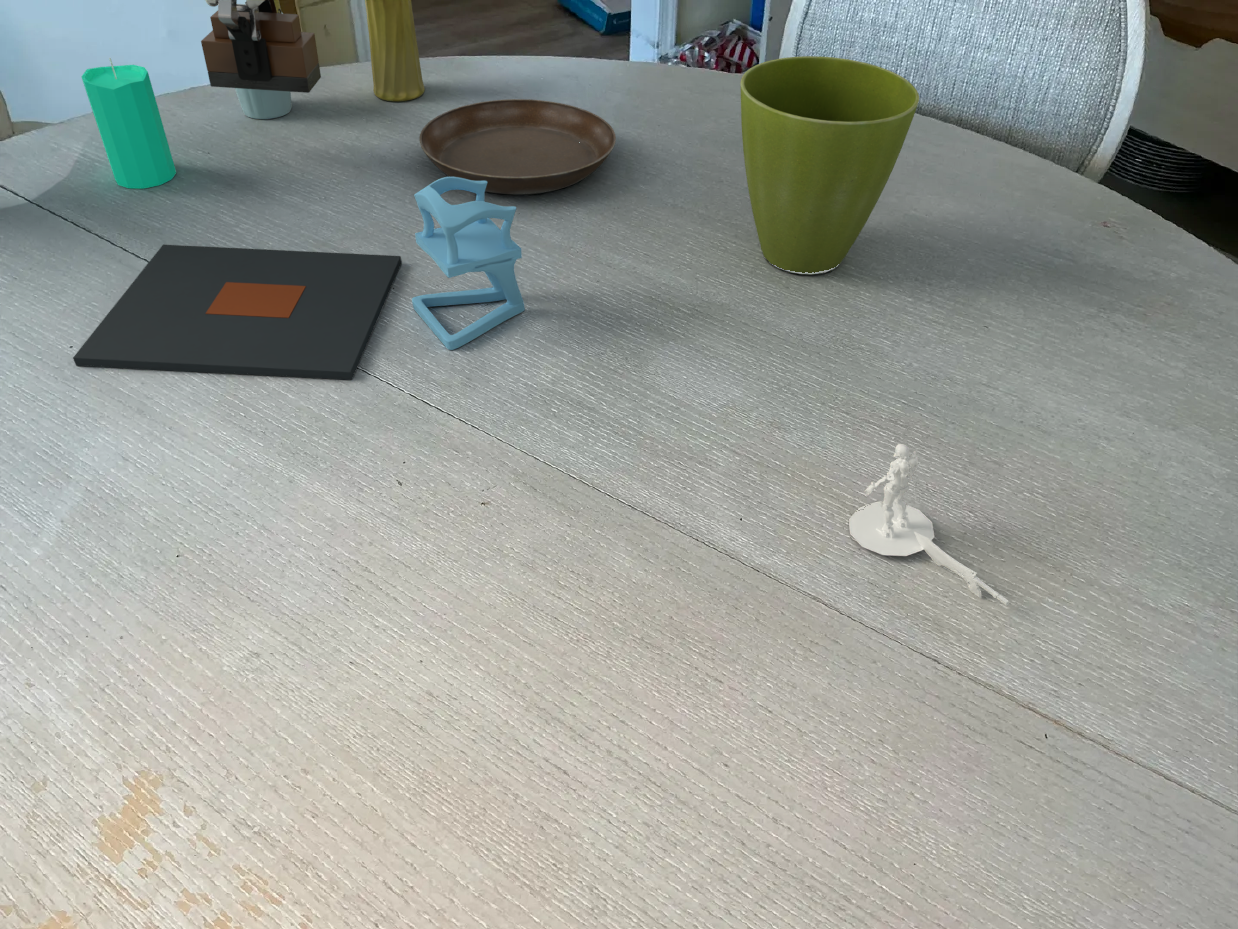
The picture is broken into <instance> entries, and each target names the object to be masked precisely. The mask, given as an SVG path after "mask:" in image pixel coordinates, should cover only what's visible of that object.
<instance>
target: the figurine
mask: <svg viewBox="0 0 1238 929" xmlns="http://www.w3.org/2000/svg"><path fill="white" fill-rule="evenodd" d="M892 458H896V459H895V460H892V461H891V462H890V464H889V468H888V469H889V470H888V472H887V473H886V475H883V477H882V478H881V479H878V480H877V481H876V482H875V481H871V482H870V485H867V486H866V489H865V490H863V494H864V496H865V497H869V496H870V495H871V494H872V493H873V492H874V490H877V489H878V487H880V486H884V487H883V494H884V497H883V500H881V501H874V502H871V503H868V504H866V505H863V506H860V507H858V508H857V509H858V510H860V509H864V510H860V511H858V510H857V509H856V511H857V512H856V511H854V513H852V515H851V516H850V517H849V518H848V526H849V527H848V528H849V534H850V536H852V538H853V539H854V540H855V541H856V542H857V543H858V544H859V546H861V548H864V549H867V550H869V551H872V552H874V553H875V554H876V553H877V554H879V555H880V556H892V557H893V556H896V557H907V556H910V555H913V554H916V553H918V552H921V551H925V553H926V554H927V555H928V556H929V557H930V558H931V560H932V561H933V563H935V564H936V565H937V566H938V567H942V566H943V567H945V568H946V569H948V570H950V571H951V572H953V573H955V574H956V575H958V576H959V577H960V578H961V579H963V580H964V582H965V583H966V585H967V586H968V589H969V591H970V592H971V593H972V594H973V595H975V596H976V597H978V598H979V599H982V590H981V589H980V587H981V588H982V589H983V590H985V591H986V592H987V593H989V594H990V595H992V597H993V598H994V599H997V600H998V601H1000V602H1001V604H1003V605H1004V606H1006V607H1007V606H1009V604H1010V601H1009V600H1008V599H1007V598H1006V597H1004V596H1003V595H1002V594H1000V592H998V591H996V590H994V589H993V588H992V587H991V586H989V585H988V584H987V583H986V582H984V581H982V580H981V579H980V578H979V577H978V576H977V574H978V572H977V571H974V570H973V569H972V568H969V567H967V566H966V565H964V564H963V563H961V562H959V561H958V560H957V559H955V558H953V557H952V556H951V555H950V554H948V553H947V552H945V551H944V550H943V549H942V548H940V547H939V546H938V545H937V544H935V542H934V541H933V540H934V538H935V531H934V526H933V525H934V524H933V521H931V520H930V518H929V517H927V516H926V515H925V514H924V513H923V512H922V511H921V510H920V509H919V508H915V507H913V506H910V505H908V504H907V502H906V501H905V500H904V499H905V497H904V496H905V494H906V493H907V492H908V491H909V490H910V484H909V481H910V482H912V481H913V479H914V478H913V476H914V475H915V473H916V471H917V470H918V468H919V462H920V460H919V457H918V454H917V451H915V450H914V451H913V452H912V453H911V455H910V448H909V446H908V445H906V444H904V443H898V444H897V445H895V452H894V454H893V457H892ZM908 476H909V477H908ZM869 504H871V505H869ZM867 505H868V506H867ZM865 506H866V507H865ZM864 507H865V508H864Z"/></svg>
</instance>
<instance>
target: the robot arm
mask: <svg viewBox="0 0 1238 929" xmlns="http://www.w3.org/2000/svg"><path fill="white" fill-rule="evenodd" d="M204 1H205V3H206V4H207V5H208V6H209V7H212V8H215V7H217V11H218V17H219V20H220V21H221V22H222V23H223V24H224V25H225V26H226V27H227V29H228V34H229V38H230V40H231V41H232V46H233V51H234V56H235V61H236V66H237V71H238V76H239V78H240V79H242V80H252V81H270V80H271V79H272V72H271V67H270V61H269V56H268V50H267V45H266V39H264V38H261V31H260V21H259V12H265V13H281V14H282V13H283V11H282V8H281V5H280V0H246V1H245V2H244V3H237V2H238V0H204ZM238 12H249V19H250V23H249V22H248V20H247V19H246V18H245V17H242V16H240V14H239V13H238Z"/></svg>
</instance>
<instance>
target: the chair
mask: <svg viewBox="0 0 1238 929" xmlns="http://www.w3.org/2000/svg"><path fill="white" fill-rule="evenodd" d="M486 186H487V181H474V180H468V179H464V178H459V177H449V176H445V177H441V178H439V179H436V180H434V181H433V182H431V183H430V184H428V185H426V186H425V187H423V188H422V189H421V190H419V191H417V192H416V193H414V194H413V197H414V198H415V202H416V205H417V208H418V210H419V212H420V215H421V217H422V222H423V229H422V231H419V232H415V233H414V235H415V236H414V237H415V243H416V244H417V246H418V247H419V248H420V249H421V250H422V251H423V252H425V253H426V254H427V255H428V256H429V257H430V258H431V259H432V260H433V261H434V262H435V264H436V266H437V267H438V268H439V269H440V271H441V272H442V273H443V274H444V275H445V276H446V277H447V278H448V279H450V278H454V277H455V278H456V277H459V276H461V275H465V274H468V273H481V272H482V273H484V274H485V276H486V277H487V279H488V281H489V282H490V285H492V287H485V288H477V289H467V290H456V291H445V292H436V293H427V294H421V295H417V296H413V297H412V298H411V303H412V308H413V310H414V311H415V313H416V314H417V315H418V316H419V318H421V320H422V321H423V322H424V323H425V324H426V325H427V327H428V328H429V329H430V330H431V331H432V333H433V334H434V335H435V336H436V337H437V339H439V341H440V342H441V343H442V344H443V346H444V347H445V348H446V349H447V350H448V351H452V350H453V351H454V350H457V349H458V348H460V347H462V346H465V345H466V344H468V343H469V342H472V341H473V340H475V339H477V338H478V337H480V336H482V335H484V334H485V333H487V332H489V331H490V330H492V329H493V328H495V327H497V326H499V325H500V324H502V323H505V321H507V320H509V319H511V318H513V317H515V316H517V315H519V314H521V313H523V312H525V310H526V306H525V302H524V298H523V296H522V293H521V290H520V287H519V285H518V281H517V278H516V272H515V265H516V262H517V261H518V260H519V259H522V258H523V256H522V255H523V254H522V253H523V252H522V247H520V245H519V244H517V242H515V240H513V239H512V236H511V227H512V224H513V221H514V217H515V214H516V211H517V207H516V205H515V206H514V205H510V206H505V205H500V204H495V203H492V202H488V201H485V192H486V191H485V189H486ZM454 190H455V191H456V190H459V191H465V192H466V191H467V192H470V193H473V194H476V195H475V200H473V201H472V200H471V201H466V202H463V203H459V204H451V203H449V202H447V201H446V200H445V199H444V198H443V197H442V196H441V195H443V194H444V193H446V192H449V191H454ZM433 218H434V219H433ZM492 219H498V220H503V221H502V224H501V227H500V228H499V227H498V225H497V224H496V223H495V222H494V221H493V220H492ZM434 220H436V222H437V224H438V225H439V226H440V227H435V222H434ZM503 300H506V302H505V303H503V304H501V305H500V306H497V307H496V308H495V309H493V310H491V311H490V312H488V313H486V314H485V315H483V316H482V317H480V318H478V319H477V320H474V321H473V322H472V323H470V324H469V325H467V326H465V327H463V329H461V330H459V331H457V332H456V333H454V334H450V333H449V332H448V330H446V328H445V327H444V326H443V325H442V324H441V322H439V320H438V319H437V317H436V316H435V315H434V314H433V313H432V312H431V310H430V309H429V308H433V307H444V306H457V305H468V304H480V303H490V302H498V301H503Z"/></svg>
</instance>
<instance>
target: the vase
mask: <svg viewBox="0 0 1238 929" xmlns="http://www.w3.org/2000/svg"><path fill="white" fill-rule="evenodd" d="M364 4H365V11H366V23H367V30H368V39H369V48H370V50H369V52H370V63H371V64H370V65H371V73H372V83H373V94H374V96H375V97H376V98H378V99H380V100H382V101H387V102H393V103H394V102H395V103H396V102H397V103H398V102H407V101H412V100H416V99H418V98H420V97H421V96H423V94H424V93H425V91H426V89H425V85H424V81H423V75H422V68H421V61H420V53H419V46H418V41H417V34H416V27H415V20H414V13H413V4H412V0H364Z"/></svg>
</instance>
